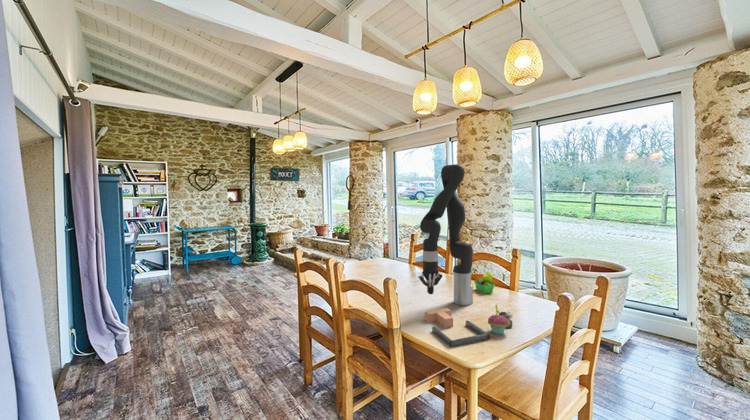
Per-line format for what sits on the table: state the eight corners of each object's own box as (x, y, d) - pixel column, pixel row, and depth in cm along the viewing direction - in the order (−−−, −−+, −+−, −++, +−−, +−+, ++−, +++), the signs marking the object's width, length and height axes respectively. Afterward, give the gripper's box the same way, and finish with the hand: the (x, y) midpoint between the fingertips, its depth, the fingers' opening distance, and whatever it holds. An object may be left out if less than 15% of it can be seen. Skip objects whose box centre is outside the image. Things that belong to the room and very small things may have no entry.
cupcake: (484, 328, 143) (484, 301, 143) (503, 326, 144) (502, 300, 143) (493, 336, 135) (493, 309, 134) (512, 335, 136) (512, 307, 135)
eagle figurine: (492, 317, 152) (493, 321, 143) (501, 305, 151) (502, 308, 143) (507, 328, 150) (508, 332, 141) (516, 315, 149) (518, 319, 140)
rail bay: (468, 324, 147) (467, 320, 147) (489, 339, 133) (489, 334, 133) (432, 331, 142) (432, 326, 142) (451, 347, 127) (450, 342, 127)
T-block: (446, 315, 159) (446, 307, 159) (460, 325, 147) (460, 316, 147) (425, 319, 155) (424, 311, 155) (437, 329, 144) (437, 320, 143)
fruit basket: (473, 288, 199) (473, 270, 198) (486, 287, 201) (486, 269, 200) (484, 294, 188) (483, 275, 187) (497, 293, 190) (497, 274, 189)
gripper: (438, 257, 165) (438, 290, 166) (414, 259, 161) (415, 293, 162) (445, 259, 158) (446, 294, 159) (421, 262, 154) (421, 297, 155)
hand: (430, 293), depth 161 cm, fingers closed
